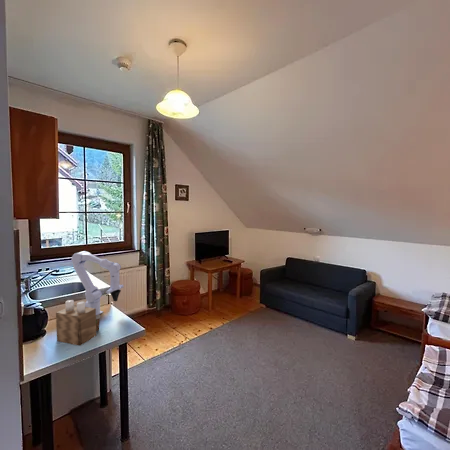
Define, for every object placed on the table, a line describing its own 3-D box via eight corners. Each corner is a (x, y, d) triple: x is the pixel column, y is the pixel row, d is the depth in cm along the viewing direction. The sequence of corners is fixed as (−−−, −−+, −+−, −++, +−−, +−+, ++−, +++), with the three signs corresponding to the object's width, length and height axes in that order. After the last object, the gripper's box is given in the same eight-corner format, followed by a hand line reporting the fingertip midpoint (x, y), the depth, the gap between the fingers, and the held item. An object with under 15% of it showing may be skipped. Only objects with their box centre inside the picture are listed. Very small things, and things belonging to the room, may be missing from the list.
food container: (76, 332, 158) (75, 315, 157) (84, 327, 164) (84, 311, 163) (93, 335, 155) (92, 318, 154) (101, 330, 160) (100, 314, 160)
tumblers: (64, 310, 149) (63, 302, 149) (70, 308, 153) (69, 299, 152) (81, 313, 145) (80, 304, 145) (86, 310, 149) (86, 302, 149)
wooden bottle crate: (56, 340, 148) (55, 312, 146) (74, 331, 159) (73, 304, 157) (80, 345, 143) (79, 316, 142) (96, 335, 154) (95, 308, 153)
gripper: (112, 285, 173) (112, 305, 174) (127, 279, 186) (127, 298, 188) (103, 283, 175) (103, 304, 176) (118, 278, 188) (118, 296, 190)
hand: (115, 300), depth 182 cm, fingers closed
